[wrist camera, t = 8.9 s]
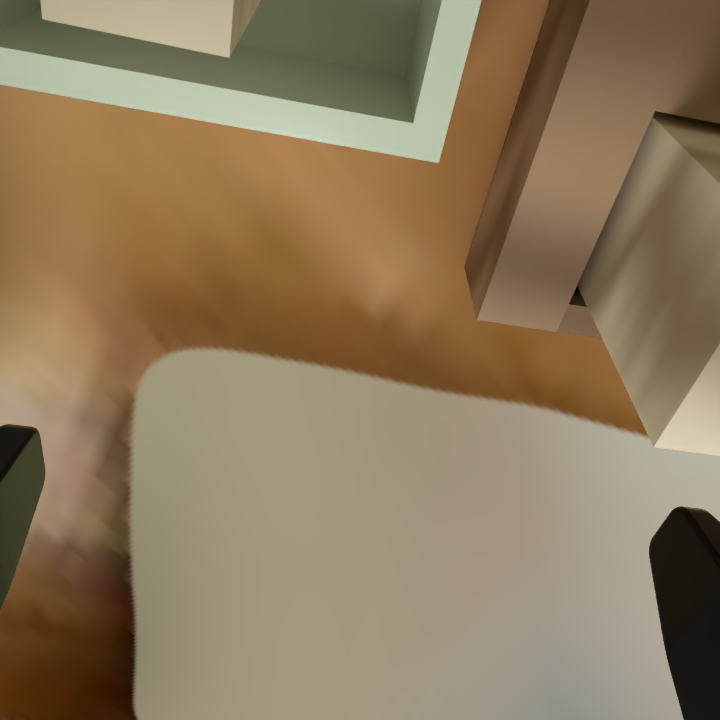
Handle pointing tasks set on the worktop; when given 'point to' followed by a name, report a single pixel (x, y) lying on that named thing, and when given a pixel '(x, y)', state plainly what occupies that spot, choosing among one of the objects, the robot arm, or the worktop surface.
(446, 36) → the green open tray
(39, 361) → the worktop surface
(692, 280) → the block
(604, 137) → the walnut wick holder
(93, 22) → the block
